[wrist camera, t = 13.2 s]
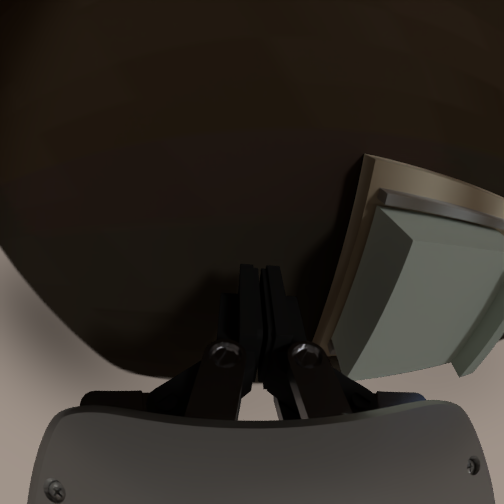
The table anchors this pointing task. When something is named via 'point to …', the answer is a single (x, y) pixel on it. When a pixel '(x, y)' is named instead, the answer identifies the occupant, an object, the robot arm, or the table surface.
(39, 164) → the table surface
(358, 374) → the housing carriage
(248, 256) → the table surface
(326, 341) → the base board
